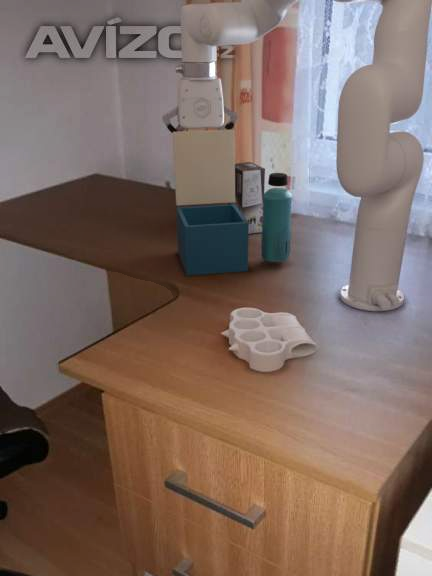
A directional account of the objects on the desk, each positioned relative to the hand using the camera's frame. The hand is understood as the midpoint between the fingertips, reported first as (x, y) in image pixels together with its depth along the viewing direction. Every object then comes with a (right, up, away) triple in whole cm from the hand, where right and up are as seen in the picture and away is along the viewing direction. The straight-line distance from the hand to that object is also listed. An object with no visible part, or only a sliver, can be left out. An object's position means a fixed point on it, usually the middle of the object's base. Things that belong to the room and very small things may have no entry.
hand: (201, 153), depth 141 cm
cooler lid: (+1, -5, -4) cm, 6 cm away
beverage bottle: (+17, -26, -1) cm, 31 cm away
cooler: (+2, -25, 0) cm, 25 cm away
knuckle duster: (+12, -47, -34) cm, 59 cm away
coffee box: (+11, -12, +21) cm, 27 cm away
